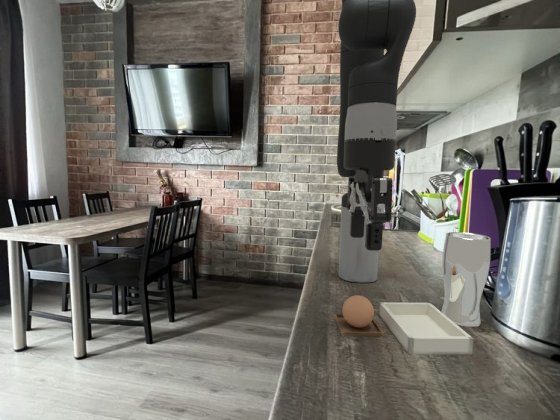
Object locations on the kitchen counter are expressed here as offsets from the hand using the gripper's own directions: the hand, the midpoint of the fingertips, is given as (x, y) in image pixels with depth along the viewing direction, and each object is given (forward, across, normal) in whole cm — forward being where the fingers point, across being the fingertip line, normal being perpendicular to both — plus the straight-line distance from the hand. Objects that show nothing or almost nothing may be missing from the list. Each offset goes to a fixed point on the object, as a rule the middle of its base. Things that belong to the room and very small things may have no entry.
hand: (364, 243), depth 49 cm
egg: (+14, 0, 0) cm, 14 cm away
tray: (+14, +2, +9) cm, 17 cm away
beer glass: (+14, -3, +19) cm, 24 cm away
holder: (+14, 0, 0) cm, 14 cm away
